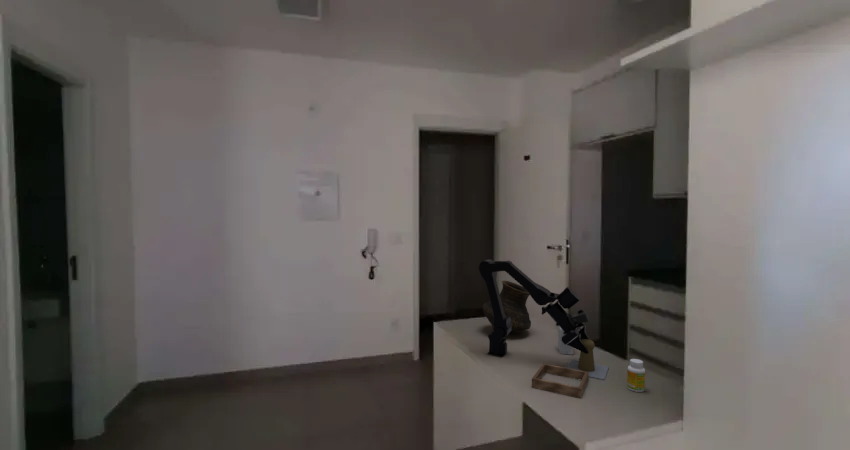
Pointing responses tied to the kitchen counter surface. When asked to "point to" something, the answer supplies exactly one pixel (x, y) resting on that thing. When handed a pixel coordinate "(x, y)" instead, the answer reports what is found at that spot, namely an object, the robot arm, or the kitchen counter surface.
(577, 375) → the walnut frame
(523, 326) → the ceramic pot
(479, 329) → the kitchen counter surface
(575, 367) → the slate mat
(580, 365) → the cork
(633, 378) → the supplement bottle
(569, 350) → the small box
